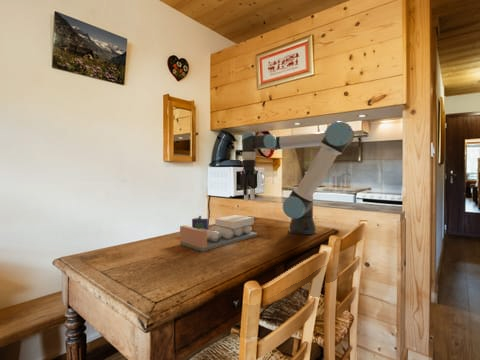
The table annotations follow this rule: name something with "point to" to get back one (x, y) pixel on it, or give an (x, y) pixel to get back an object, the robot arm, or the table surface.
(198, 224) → the flask
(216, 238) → the loose roller
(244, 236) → the roller bed
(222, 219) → the stone slab
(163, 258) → the table surface
